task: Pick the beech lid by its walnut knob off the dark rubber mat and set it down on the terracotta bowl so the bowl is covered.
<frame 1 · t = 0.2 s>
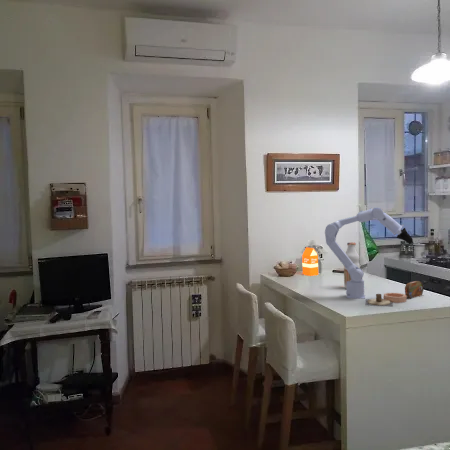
hand: (411, 241, 211), 31 cm above the countertop, tool tilted 45°, fingers open, 7 cm apart
bowl: (395, 300, 213), on the countertop
orange juice: (310, 274, 299), on the countertop
mat: (378, 303, 208), on the countertop
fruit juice: (352, 288, 247), on the countertop
lid: (378, 302, 208), resting on mat
tin: (414, 297, 220), on the countertop
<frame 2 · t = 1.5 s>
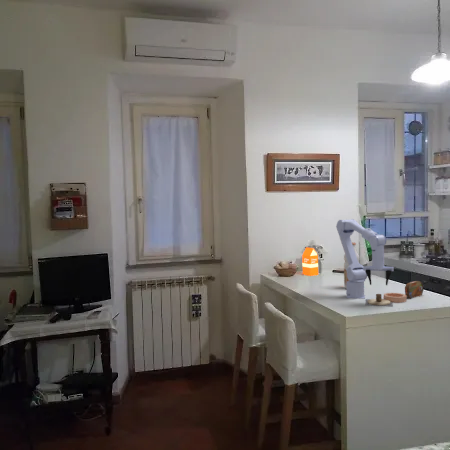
hand: (378, 284, 208), 10 cm above the countertop, tool pointing down, fingers open, 7 cm apart
nothing on the countertop moved.
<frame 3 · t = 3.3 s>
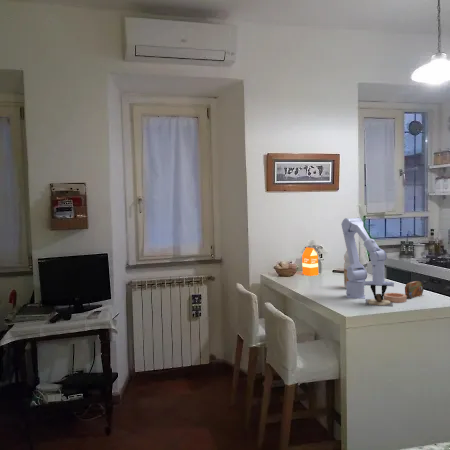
hand: (378, 299, 208), 2 cm above the countertop, tool pointing down, fingers closed on lid, 3 cm apart
lid: (378, 302, 208), resting on mat, touching gripper
everything else where it was.
when the fingers open (6 cm above the countertop, at t = 6.3 s): lid stays where it is, resting on bowl.
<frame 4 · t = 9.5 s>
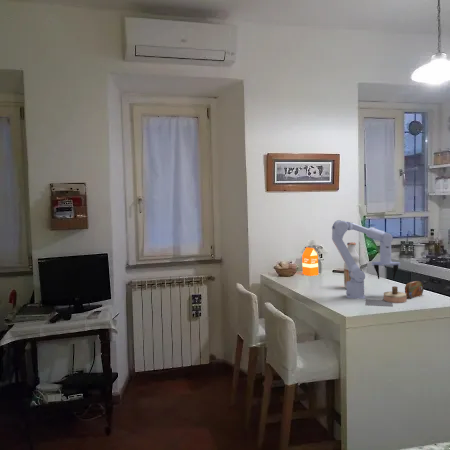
hand: (386, 278, 222), 10 cm above the countertop, tool pointing down, fingers open, 7 cm apart
lid: (394, 295, 212), point 3 cm above the countertop, touching bowl
everything else where it was.
at the end: lid 0.3 cm off-centre on the bowl, point 3.0 cm above the bowl's base; lid tilted 0°; the gripper is holding nothing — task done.
